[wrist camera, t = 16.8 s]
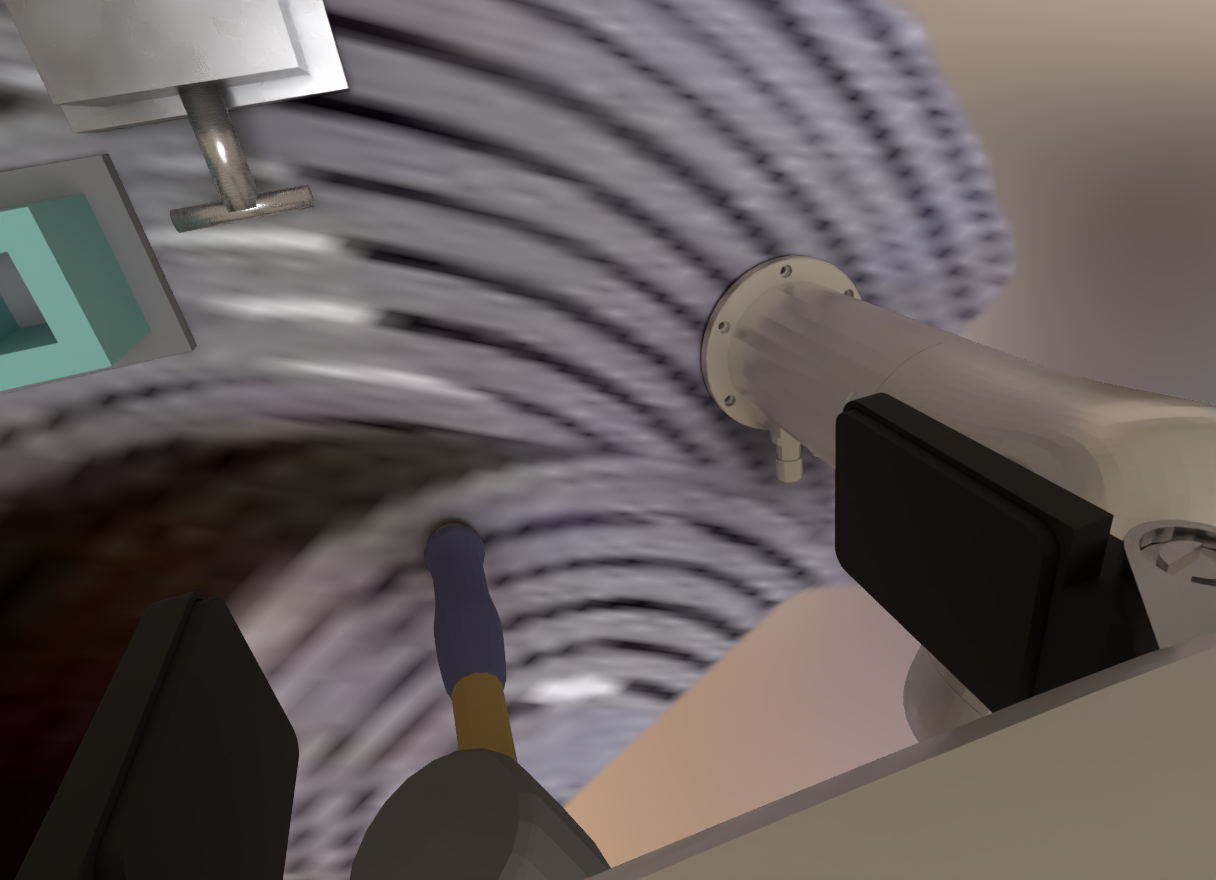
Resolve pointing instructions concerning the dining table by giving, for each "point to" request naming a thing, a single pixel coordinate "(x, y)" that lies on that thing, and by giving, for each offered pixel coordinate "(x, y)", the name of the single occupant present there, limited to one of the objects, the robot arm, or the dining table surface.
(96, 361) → the collar
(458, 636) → the rubber mallet
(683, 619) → the dining table surface
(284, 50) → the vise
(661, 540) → the dining table surface
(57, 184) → the mat
